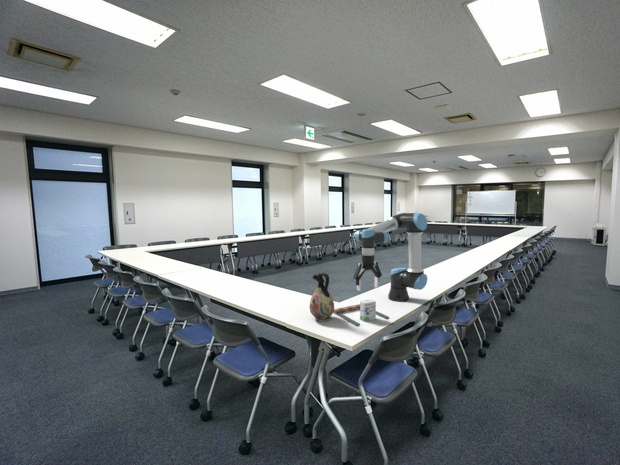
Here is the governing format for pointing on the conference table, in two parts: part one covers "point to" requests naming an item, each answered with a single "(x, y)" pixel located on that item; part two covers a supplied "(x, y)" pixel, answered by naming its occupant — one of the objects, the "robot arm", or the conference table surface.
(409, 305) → the conference table surface
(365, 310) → the ink box
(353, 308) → the end stop
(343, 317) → the guide rails
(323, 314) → the ceramic jug
